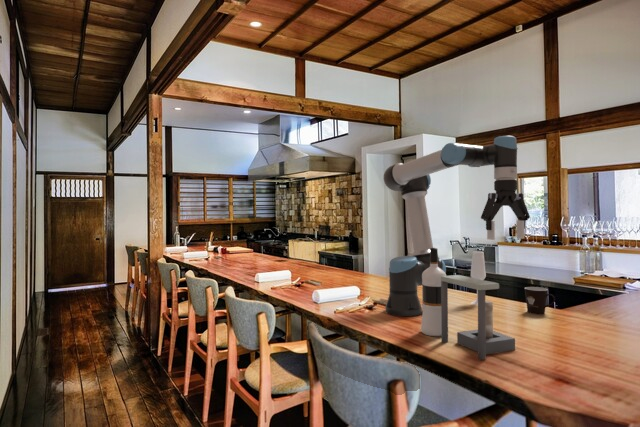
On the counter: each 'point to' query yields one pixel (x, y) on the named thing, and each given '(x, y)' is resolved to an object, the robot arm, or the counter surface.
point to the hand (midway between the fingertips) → (505, 239)
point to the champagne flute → (478, 268)
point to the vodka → (432, 297)
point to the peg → (489, 319)
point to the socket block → (492, 345)
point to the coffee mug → (537, 299)
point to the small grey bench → (481, 287)
